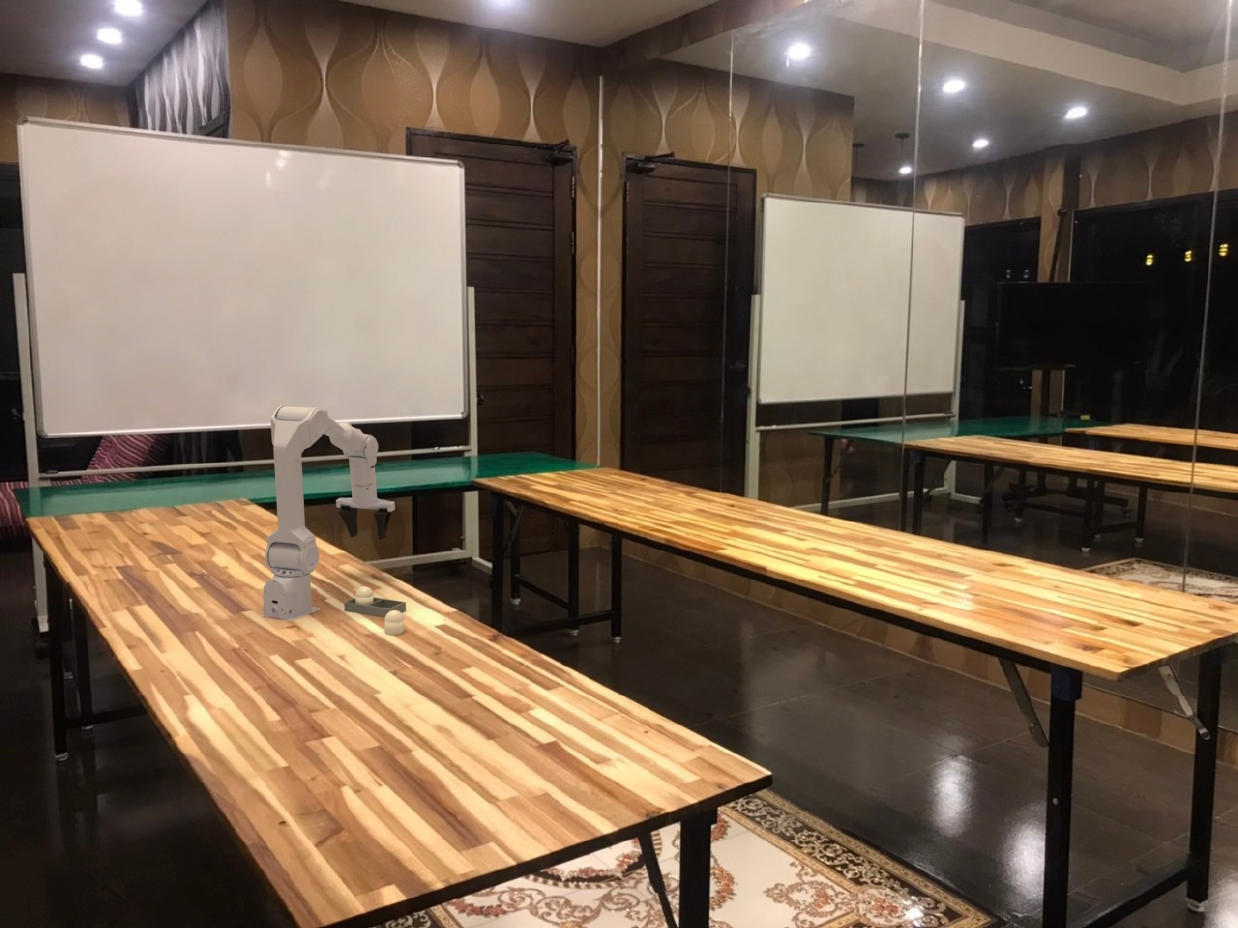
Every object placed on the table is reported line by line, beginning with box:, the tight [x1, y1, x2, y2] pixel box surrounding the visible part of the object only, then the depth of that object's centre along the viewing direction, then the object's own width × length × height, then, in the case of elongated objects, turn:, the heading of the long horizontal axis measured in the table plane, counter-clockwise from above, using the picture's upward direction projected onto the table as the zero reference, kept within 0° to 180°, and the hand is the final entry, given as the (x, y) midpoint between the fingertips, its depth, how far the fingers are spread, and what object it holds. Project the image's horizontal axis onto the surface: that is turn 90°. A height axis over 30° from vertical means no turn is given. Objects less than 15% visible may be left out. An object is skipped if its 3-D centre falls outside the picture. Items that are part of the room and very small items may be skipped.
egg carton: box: [343, 596, 407, 618], centre depth 200 cm, size 6×12×2 cm, turn 68°
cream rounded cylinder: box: [384, 610, 405, 636], centre depth 186 cm, size 4×4×5 cm
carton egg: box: [354, 585, 374, 605], centre depth 201 cm, size 4×4×5 cm
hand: (368, 537), depth 226 cm, fingers open, 7 cm apart
